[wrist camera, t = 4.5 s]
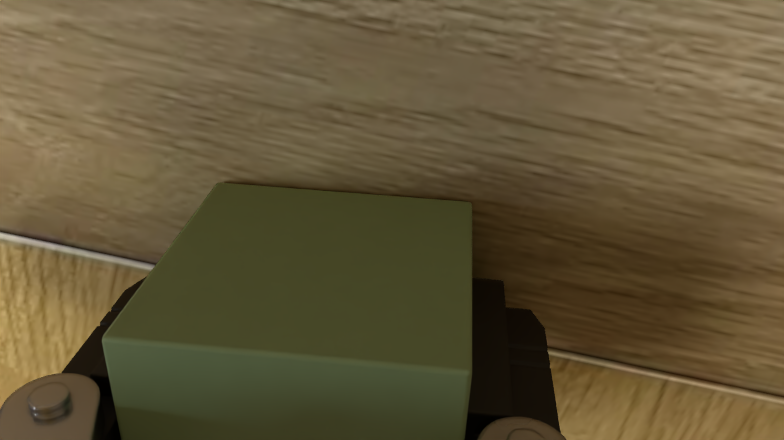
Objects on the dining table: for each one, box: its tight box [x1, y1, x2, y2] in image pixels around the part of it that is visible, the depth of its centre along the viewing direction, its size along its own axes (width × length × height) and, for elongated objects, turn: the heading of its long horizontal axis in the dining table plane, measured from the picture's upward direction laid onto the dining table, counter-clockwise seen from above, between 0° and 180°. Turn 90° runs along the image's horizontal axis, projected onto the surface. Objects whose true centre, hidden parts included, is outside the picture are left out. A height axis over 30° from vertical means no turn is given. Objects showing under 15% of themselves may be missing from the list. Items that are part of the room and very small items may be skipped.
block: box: [102, 183, 472, 440], centre depth 12 cm, size 5×5×5 cm
